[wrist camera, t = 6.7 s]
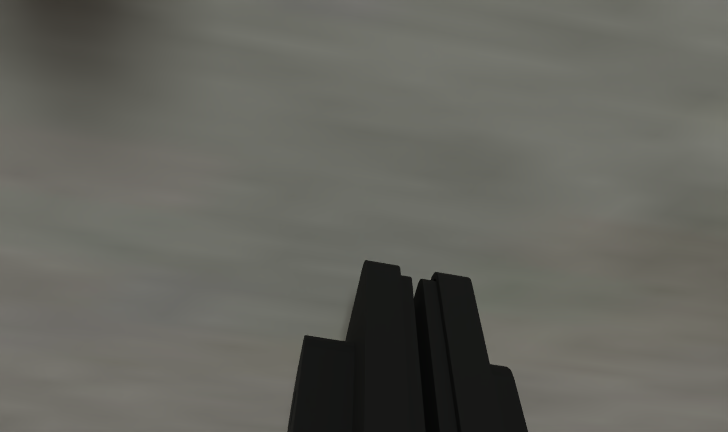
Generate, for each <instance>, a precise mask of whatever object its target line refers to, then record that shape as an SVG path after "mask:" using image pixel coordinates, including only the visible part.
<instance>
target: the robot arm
mask: <svg viewBox="0 0 728 432" xmlns="http://www.w3.org/2000/svg"><path fill="white" fill-rule="evenodd" d="M288 432H528V430H527V426H526V422H525V418H524V415H523V411H522V407H521V403H520V399H519V395H518V392H517V388H516V384H515V380H514V377H513V374H512V372H511V370H510V369H509V368H508V367H504V366H498V365H492V364H490V363H489V358H488V354H487V349H486V345H485V340H484V336H483V331H482V327H481V322H480V318H479V313H478V309H477V304H476V300H475V295H474V291H473V286H472V282H471V279H470V278H468V277H463V276H457V275H451V274H445V273H439V272H435V273H434V274H433V276H432V278H431V280H426V279H420V281H419V283H418V286H417V289H416V293H415V296H414V297H413V286H412V278H411V277H408V276H402V275H401V272H400V267H399V266H397V265H391V264H385V263H379V262H373V261H367V260H365V262H364V264H363V268H362V272H361V276H360V280H359V285H358V289H357V293H356V298H355V302H354V306H353V311H352V315H351V319H350V323H349V328H348V332H347V336H346V341H339V340H332V339H326V338H320V337H313V336H307V335H305V336H304V340H303V345H302V350H301V355H300V360H299V365H298V371H297V376H296V382H295V387H294V393H293V399H292V405H291V412H290V418H289V425H288Z"/></svg>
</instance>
